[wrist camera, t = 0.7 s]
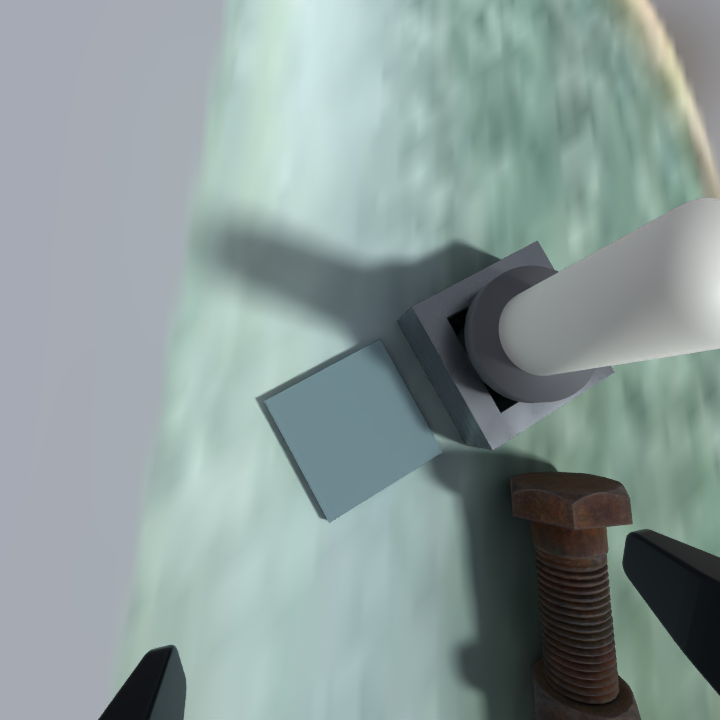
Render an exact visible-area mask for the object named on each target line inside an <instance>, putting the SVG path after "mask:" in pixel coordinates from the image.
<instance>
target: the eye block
mask: <svg viewBox="0 0 720 720" xmlns="http://www.w3.org/2000/svg"><path fill="white" fill-rule="evenodd" d="M521 266H542V267H546V268H550V269H553V270H554V268H553V266H552V265H551V263H550V261H549V260H548V258H547V256H546V254H545V253H544V251H543V249H542V248H541V246H540V244H539V242H538V241H536V242H534V243H532V244H530V245H528V246H526V247H525V248H523V249H521V250H519V251H517V252H515V253H513V254H511V255H509V256H507V257H505V258H504V259H502V260H500V261H498V262H496V263H494V264H492V265H490V266H488V267H486V268H484V269H483V270H481V271H479V272H477V273H475V274H473V275H471V276H469V277H467V278H465V279H463V280H462V281H460V282H458V283H456V284H454V285H452V286H450V287H448V288H446V289H444V290H443V291H441V292H439V293H437V294H435V295H433V296H431V297H429V298H427V299H425V300H423V301H422V302H420V303H418V304H416V305H414V306H412V307H411V308H410V309H409V310H408V311H407V312H406V313H405V314H404V315H402V316H401V317H400V318H399V319H398V320H397V322H398V323H399V325H400V327H401V329H402V330H403V332H404V334H405V336H406V338H407V339H408V341H409V343H410V345H411V347H412V348H413V350H414V352H415V354H416V356H417V357H418V359H419V361H420V363H421V364H422V366H423V368H424V370H425V372H426V373H427V375H428V377H429V379H430V381H431V382H432V384H433V386H434V388H435V389H436V391H437V393H438V395H439V397H440V398H441V400H442V402H443V404H444V406H445V407H446V409H447V411H448V413H449V415H450V416H451V418H452V420H453V422H454V423H455V425H456V427H457V429H458V431H459V432H460V434H461V436H462V438H463V440H464V441H465V443H466V445H467V446H472V447H478V448H483V449H489V450H494V449H496V448H497V447H499V446H500V445H502V444H503V443H505V442H506V441H508V440H510V439H511V438H513V437H514V436H516V435H517V434H519V433H520V432H522V431H524V430H525V429H527V428H528V427H530V426H531V425H533V424H534V423H536V422H538V421H539V420H541V419H542V418H544V417H545V416H547V415H548V414H550V413H552V412H553V411H555V410H556V409H558V408H559V407H561V406H562V405H564V404H566V403H567V402H569V401H570V400H572V399H573V398H575V397H576V396H578V395H580V394H581V393H583V392H584V391H586V390H587V389H589V388H591V387H592V386H594V385H595V384H597V383H598V382H600V381H601V380H603V379H605V378H606V377H608V376H609V375H611V374H612V373H614V371H613V369H612V367H611V366H605V367H599V368H596V370H595V372H594V374H593V376H592V377H591V378H590V380H589V381H588V383H587V384H586V385H585V386H584V387H583V388H582V389H580V390H579V391H578V392H576V393H575V394H573V395H571V396H570V397H568V398H565V399H562V400H559V401H554V402H543V403H523V402H518V401H514V400H511V399H509V398H506V397H504V396H502V397H500V398H499V399H497V400H495V401H493V399H492V397H491V395H490V394H489V392H488V390H487V388H486V387H485V385H484V383H483V381H482V380H481V378H480V376H479V375H478V373H477V372H476V370H475V369H474V367H473V365H472V363H471V361H470V359H469V357H468V355H467V353H466V351H465V349H464V348H463V346H462V344H461V342H460V341H459V339H458V337H457V335H456V334H455V332H454V330H453V328H452V327H451V325H450V323H449V321H448V319H449V318H451V317H453V316H455V315H456V314H458V313H460V312H462V311H464V310H466V309H467V308H469V307H470V305H471V303H472V301H473V299H474V298H475V296H476V295H477V293H478V292H479V291H480V290H481V289H482V288H483V287H484V286H485V285H486V284H488V283H489V282H491V281H492V280H493V279H495V278H496V277H498V276H499V275H501V274H503V273H504V272H506V271H508V270H511V269H513V268H517V267H521Z"/></svg>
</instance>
